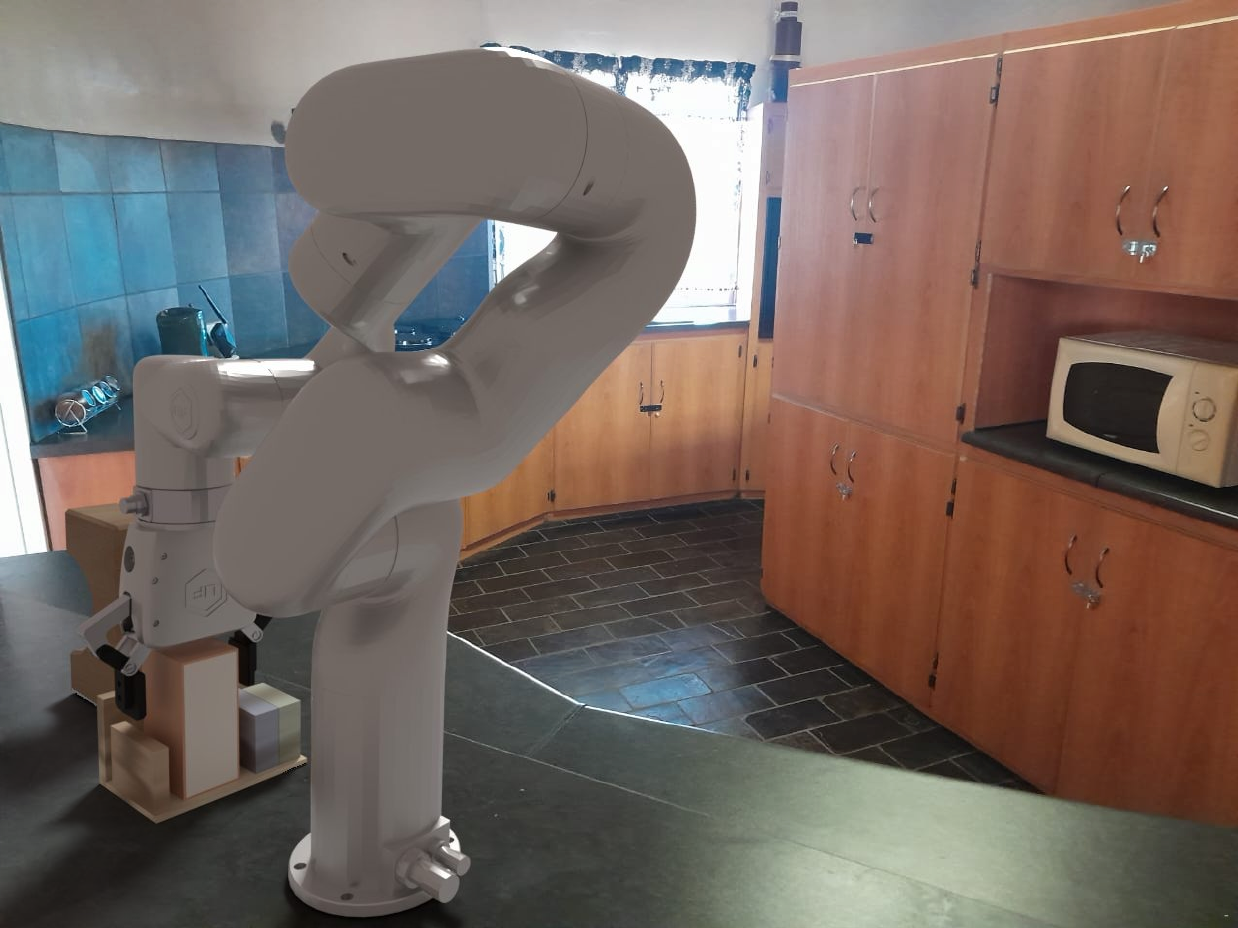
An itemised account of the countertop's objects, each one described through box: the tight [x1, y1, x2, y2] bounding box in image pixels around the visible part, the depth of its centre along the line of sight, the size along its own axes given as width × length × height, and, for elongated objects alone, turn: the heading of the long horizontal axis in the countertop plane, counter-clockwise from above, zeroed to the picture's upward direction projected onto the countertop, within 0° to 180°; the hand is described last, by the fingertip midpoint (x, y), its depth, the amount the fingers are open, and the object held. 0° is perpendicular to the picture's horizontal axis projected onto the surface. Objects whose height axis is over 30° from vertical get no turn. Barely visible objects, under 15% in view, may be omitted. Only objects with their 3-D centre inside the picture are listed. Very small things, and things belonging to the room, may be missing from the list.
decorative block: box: [64, 502, 142, 704], centre depth 95 cm, size 11×6×20 cm, turn 52°
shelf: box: [96, 682, 308, 824], centre depth 82 cm, size 10×14×8 cm
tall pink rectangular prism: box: [142, 637, 239, 801], centre depth 80 cm, size 7×5×12 cm
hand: (189, 697), depth 80 cm, fingers open, 9 cm apart
